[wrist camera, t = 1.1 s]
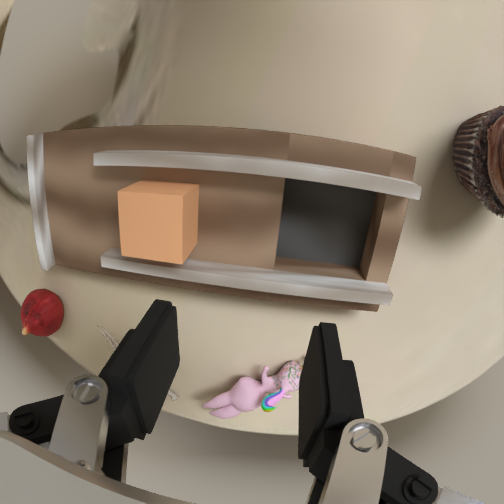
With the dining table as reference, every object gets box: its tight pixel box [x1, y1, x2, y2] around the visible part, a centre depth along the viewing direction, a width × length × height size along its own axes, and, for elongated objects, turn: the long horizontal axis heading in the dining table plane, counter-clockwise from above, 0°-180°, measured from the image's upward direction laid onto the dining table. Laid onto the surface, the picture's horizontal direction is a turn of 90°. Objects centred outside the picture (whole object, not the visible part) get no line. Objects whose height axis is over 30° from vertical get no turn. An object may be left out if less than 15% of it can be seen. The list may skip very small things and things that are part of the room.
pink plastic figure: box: [202, 361, 303, 418], centre depth 32 cm, size 6×6×15 cm
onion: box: [21, 289, 64, 336], centre depth 30 cm, size 6×6×8 cm
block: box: [118, 180, 199, 264], centre depth 22 cm, size 5×5×4 cm
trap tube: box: [27, 125, 422, 312], centre depth 25 cm, size 14×34×5 cm, turn 85°
